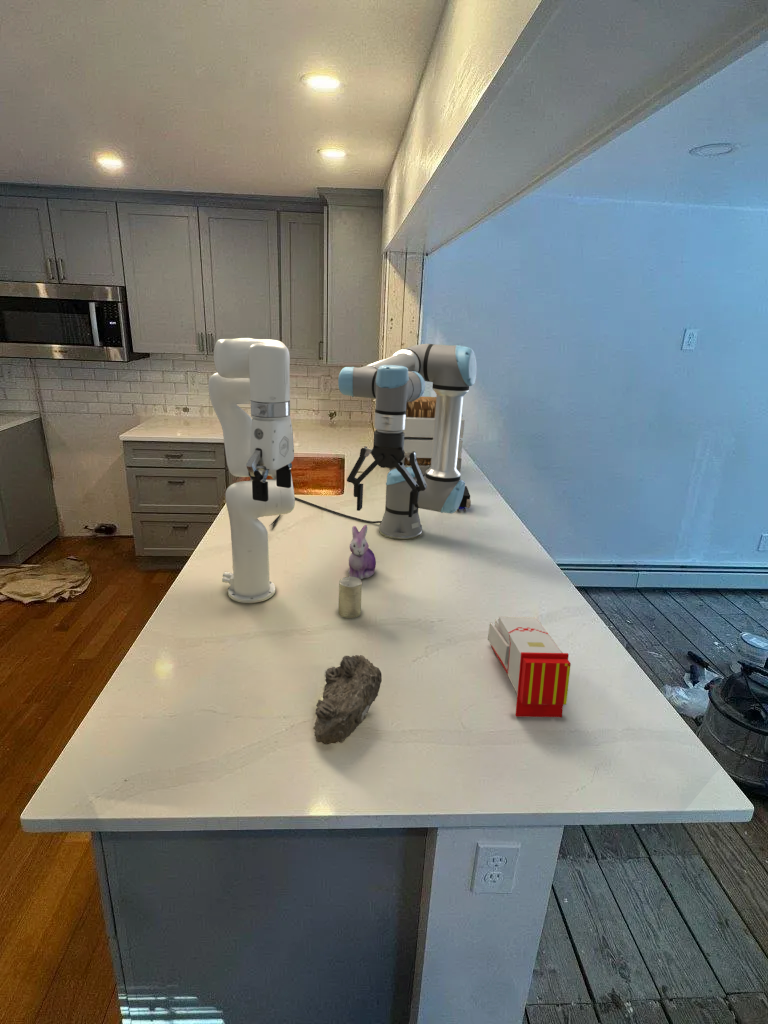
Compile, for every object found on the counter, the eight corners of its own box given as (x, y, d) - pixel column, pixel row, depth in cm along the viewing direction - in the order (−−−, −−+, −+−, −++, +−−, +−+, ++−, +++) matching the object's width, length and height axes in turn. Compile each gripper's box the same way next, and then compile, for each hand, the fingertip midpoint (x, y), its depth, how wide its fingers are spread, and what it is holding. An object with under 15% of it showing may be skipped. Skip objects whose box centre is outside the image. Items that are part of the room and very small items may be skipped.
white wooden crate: (382, 463, 289) (386, 382, 275) (445, 464, 293) (451, 384, 279) (390, 482, 257) (394, 392, 243) (460, 483, 261) (468, 394, 247)
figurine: (354, 583, 162) (355, 534, 157) (340, 569, 171) (341, 522, 166) (383, 577, 167) (385, 530, 161) (368, 563, 175) (369, 518, 170)
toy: (534, 602, 136) (579, 659, 107) (529, 653, 139) (572, 723, 110) (484, 601, 136) (516, 658, 107) (480, 652, 139) (510, 722, 109)
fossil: (318, 656, 121) (374, 625, 116) (346, 686, 123) (402, 656, 118) (294, 738, 101) (359, 705, 96) (328, 771, 104) (393, 740, 99)
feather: (288, 507, 224) (291, 503, 223) (271, 531, 197) (274, 527, 197) (285, 505, 224) (287, 501, 223) (267, 528, 197) (269, 524, 197)
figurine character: (470, 516, 223) (465, 500, 237) (473, 499, 220) (467, 484, 233) (453, 516, 223) (449, 500, 236) (455, 498, 220) (451, 483, 233)
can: (364, 610, 148) (365, 579, 145) (353, 620, 144) (354, 588, 141) (345, 605, 151) (346, 574, 148) (334, 614, 146) (334, 583, 143)
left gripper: (265, 418, 101) (268, 509, 107) (307, 405, 117) (307, 484, 122) (228, 414, 103) (233, 503, 109) (274, 401, 119) (276, 480, 125)
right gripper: (336, 428, 138) (334, 510, 145) (437, 438, 133) (430, 523, 140) (345, 423, 145) (342, 502, 152) (441, 432, 140) (435, 513, 147)
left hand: (272, 493), depth 116 cm, fingers open, 9 cm apart
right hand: (384, 512), depth 146 cm, fingers open, 13 cm apart
